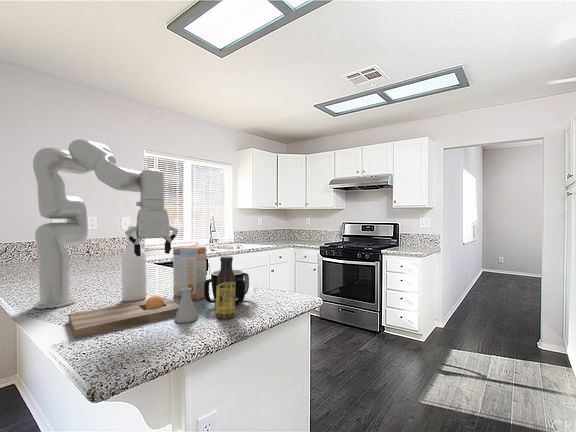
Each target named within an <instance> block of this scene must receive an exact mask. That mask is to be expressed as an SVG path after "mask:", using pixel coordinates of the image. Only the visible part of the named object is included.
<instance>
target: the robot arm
mask: <svg viewBox="0 0 576 432" xmlns="http://www.w3.org/2000/svg"><path fill="white" fill-rule="evenodd" d="M67 148H68V149H63V148H56V147H43V148H40V149H39V150H38V151H37V152H36V153H35V155H34V157H33V160H32V168H33V172H34V176H35V179H36V186H37V202H38V204H37V205H38V212H39V215H40V216H41V217H42V218H44V219H46V220H47V219H48V220H66V222H63V221H62V222H60V221H59V222H46V223H43V224H41V225H39V226H38V227H37V228H36V230H35V232H34V238H35V243H36V247H37V252H38V271H39V272H38V275H39V276H38V280H39V281H38V283H39V285H38V287H39V288H38V289H39V294H38V295H39V301H37V302H36V303H35V302H34V304H33V305H34V308H35V309H37V310H39V309H40V310H44V309H45V310H46V308H49V309H54V308H55V307H56V308H61V307H65V306H69V305H72V304H74V303H75V302H76V298H75V297H71V258H70V255H69V252H68V251H67V250H66V248H65V247H70V246H71V247H72V246H78V245H82V244H83V243H85V241H86V240H87V238H88V232H89V231H88V215H87V206H86V203H85V202H84V200H83V199H82V198H80V197H78V196H76V195H67V194H66V193H67V192H66V184H65V182H64V179H63V178H62V176H61V175H60V174H59V173H58V172H62V173H67V174H68V173H71V174H77V175H83V174H87V173H90V172H94V173H95V176H96V178H97V179H98V181H100V182H102V183H103V184H104V185H106V186H108V187H110V188H112V189H114V190H116V191H124V192H131V193H132V192H133V193H139V194H140V196H139V197H140V200H139V201H135V206H136V207H139V208H140V209H138V211H137V218H136V226H135V227H133V228H132V229H130V230H128V229H127V230H126V231H125V232H124V234H125V236H126V237H127V240H128V239H129V240H130V241H131V242H132V243H133V244H134V254H136V256H141V249H142V248H141V249H140V246H141V241H142V240H143V239H144V240H145V239H160V238H161V239H164V240H165V241H164V253H165V254H166V255H167V254H170V253H171V251H172V245H171V244H172V242H173V240H174V239H175V238H176V237H177V235H178V232H179V229H177V228H175V227H173V226H171V225H170V222H169V220H170V219H169V213H168V210H167V209H165V186H164V185H165V179H164V178H165V177H164V172H163V171H162V170H159V169H149V168H147V169H143V170H141V171H138V170H134V169H128V168H123V167H120V166H118V165H116V164H117V161H116V157H115V156H114V155H113V154H112V152H111V150H110V148H109V147H108V146H107V145H105V144H103V143H100V142H99V143H98V142H96V141H91V140H87V139H83V138H82V139H81V138H79V139H75V140H73V141H71V142H70V143H69V145H68V147H67ZM135 231H136V236H137V237H136V239H134V238H133V237H132V235H131V233H133V232H135ZM170 231H171V232H172V233H170ZM170 234H171V235H170ZM139 242H140V244H139ZM56 308H55V309H56Z"/></svg>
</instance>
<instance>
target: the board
mask: <svg viewBox="0 0 576 432" xmlns="http://www.w3.org/2000/svg"><path fill="white" fill-rule="evenodd" d="M161 297H162V298H163V300H164V307H159V308H154V309H149V310H147V309H146V306H145V305H146V301H147V300H148V299H146V300H145V299H144V300H140V301H134V302H127V303H123V304H117V305H113V306H112V305H111V306H106V307H101V308H95V309H90V310H83V311H78V312H72V313H68V323H69V326H70V330H71V331H72V335H73V336H74V339H79V338H84V337H89V336H92V335H97V334H101V333H106V332H110V331H115V330H120V329H123V328H128V327H132V326H138V325H142V324H146V323H150V322H151V323H152V322H156V321H161V320H165V319H168V318H172V317H173V318H175V317H176V314H177V311H178V308H179V305H180V304H178V303H175V302H174V301H172V300H170V299H169V298H167V297H165V296H161Z"/></svg>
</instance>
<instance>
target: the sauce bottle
mask: <svg viewBox="0 0 576 432" xmlns="http://www.w3.org/2000/svg"><path fill="white" fill-rule="evenodd" d="M219 258H220V259H219V260H220V272H219V274H218V276H217V285H216V303H215V316H216V318H217V319H221V320H228V319H230V318H234V316H235V312H236V305H235V275H234V273H233V271H232V270H233V260H234V257H233V256H231V255H230V256H229V255H224V256H220V257H219Z"/></svg>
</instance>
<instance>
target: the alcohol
mask: <svg viewBox="0 0 576 432" xmlns="http://www.w3.org/2000/svg"><path fill="white" fill-rule="evenodd" d="M135 226H136V225H128V226H127V227H128V229H127V231H128V230H130V229H132V228H133V227H135ZM131 235H132V237H133V238H134V239H136V237H137V236H136V231H135V232H133V233H131ZM139 244H140V249H141V256H136V254H134V244H133V243H132V242H131V241H130V240H129V239H128V238H127V246H126V249H124V251H123V252H122V255H121V295H122V297H121V298H122V301H124V302H125V303H134V302H139V301H144V300H145V299H146V297H147V255H146V252H145V251H144V249H142V247H141V241H140V242H139Z"/></svg>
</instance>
